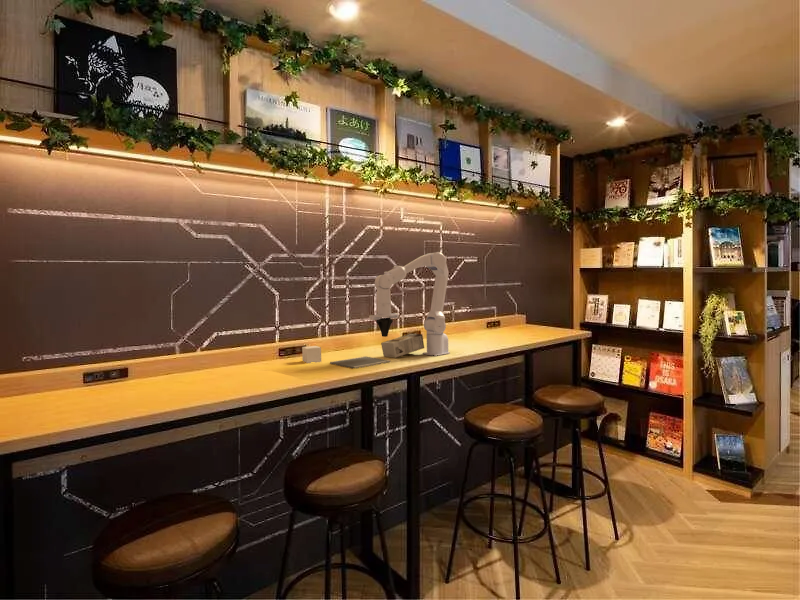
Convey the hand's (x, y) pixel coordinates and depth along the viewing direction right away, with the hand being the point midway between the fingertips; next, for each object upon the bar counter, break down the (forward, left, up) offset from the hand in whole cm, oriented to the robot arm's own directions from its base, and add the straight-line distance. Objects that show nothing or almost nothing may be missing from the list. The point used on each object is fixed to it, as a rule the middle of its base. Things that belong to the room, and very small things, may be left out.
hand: (384, 336), depth 191 cm
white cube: (+24, -18, -10) cm, 32 cm away
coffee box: (-2, -1, -6) cm, 6 cm away
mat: (+13, 0, -9) cm, 16 cm away
